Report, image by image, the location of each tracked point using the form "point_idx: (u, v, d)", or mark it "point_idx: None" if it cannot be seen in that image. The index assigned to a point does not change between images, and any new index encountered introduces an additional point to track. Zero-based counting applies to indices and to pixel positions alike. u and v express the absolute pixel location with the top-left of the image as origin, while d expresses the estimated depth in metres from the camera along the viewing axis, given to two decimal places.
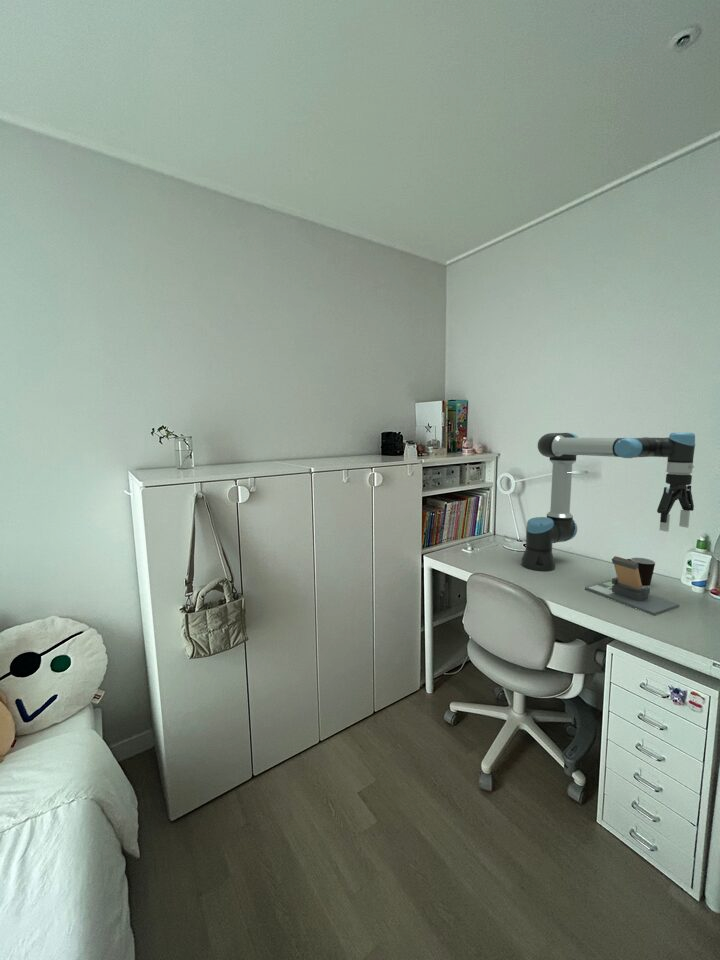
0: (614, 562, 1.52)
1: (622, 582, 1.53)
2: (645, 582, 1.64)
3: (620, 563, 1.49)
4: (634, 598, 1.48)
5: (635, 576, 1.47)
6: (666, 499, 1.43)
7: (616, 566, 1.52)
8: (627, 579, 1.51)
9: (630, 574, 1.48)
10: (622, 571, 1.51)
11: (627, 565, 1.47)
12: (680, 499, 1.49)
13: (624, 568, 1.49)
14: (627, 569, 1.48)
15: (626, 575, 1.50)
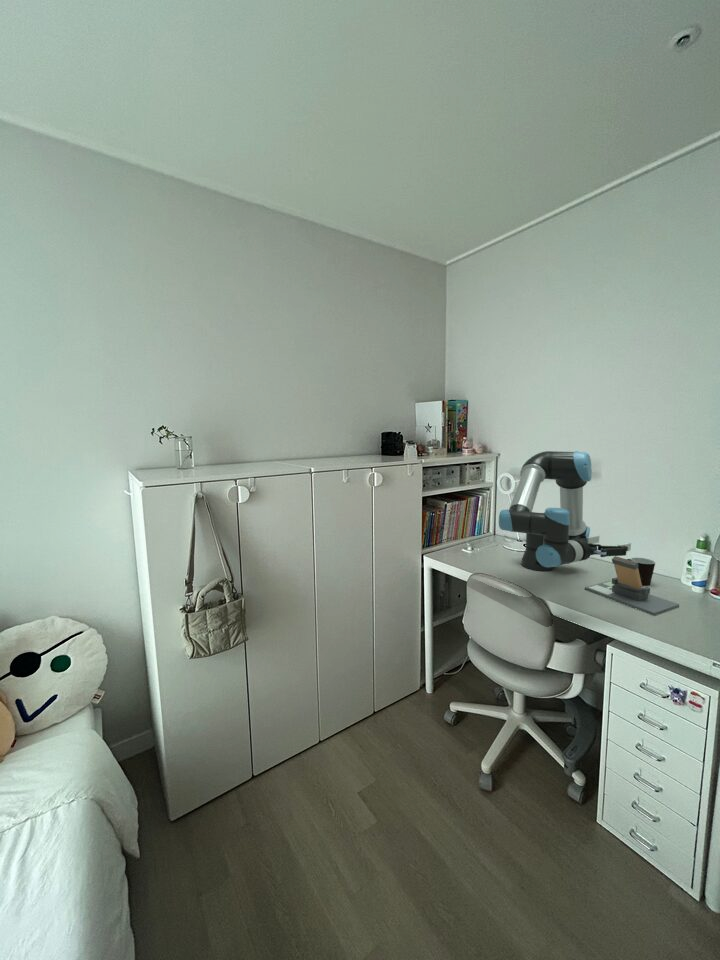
0: (614, 562, 1.52)
1: (622, 582, 1.53)
2: (645, 582, 1.64)
3: (620, 563, 1.49)
4: (634, 598, 1.48)
5: (635, 576, 1.47)
6: None
7: (616, 566, 1.52)
8: (627, 579, 1.51)
9: (630, 574, 1.48)
10: (622, 571, 1.51)
11: (627, 565, 1.47)
12: None
13: (624, 568, 1.49)
14: (627, 569, 1.48)
15: (626, 575, 1.50)
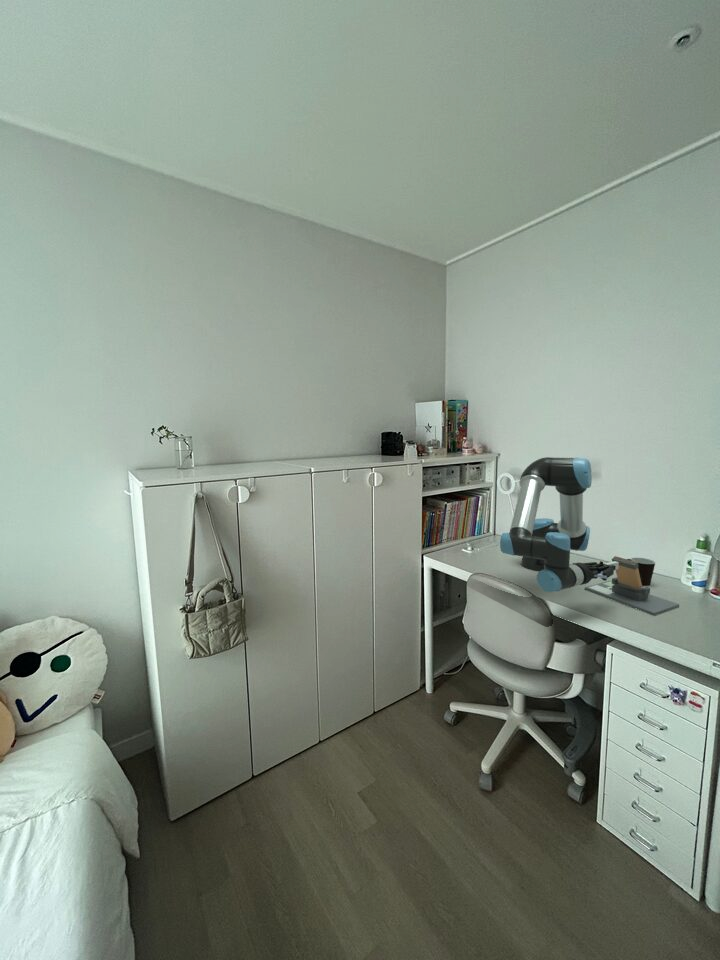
0: None
1: (622, 582, 1.53)
2: (645, 582, 1.64)
3: (620, 563, 1.49)
4: (634, 598, 1.48)
5: (635, 576, 1.47)
6: None
7: None
8: (627, 579, 1.51)
9: (630, 574, 1.48)
10: (622, 571, 1.51)
11: (627, 565, 1.47)
12: None
13: (624, 568, 1.49)
14: (627, 569, 1.48)
15: (626, 575, 1.50)
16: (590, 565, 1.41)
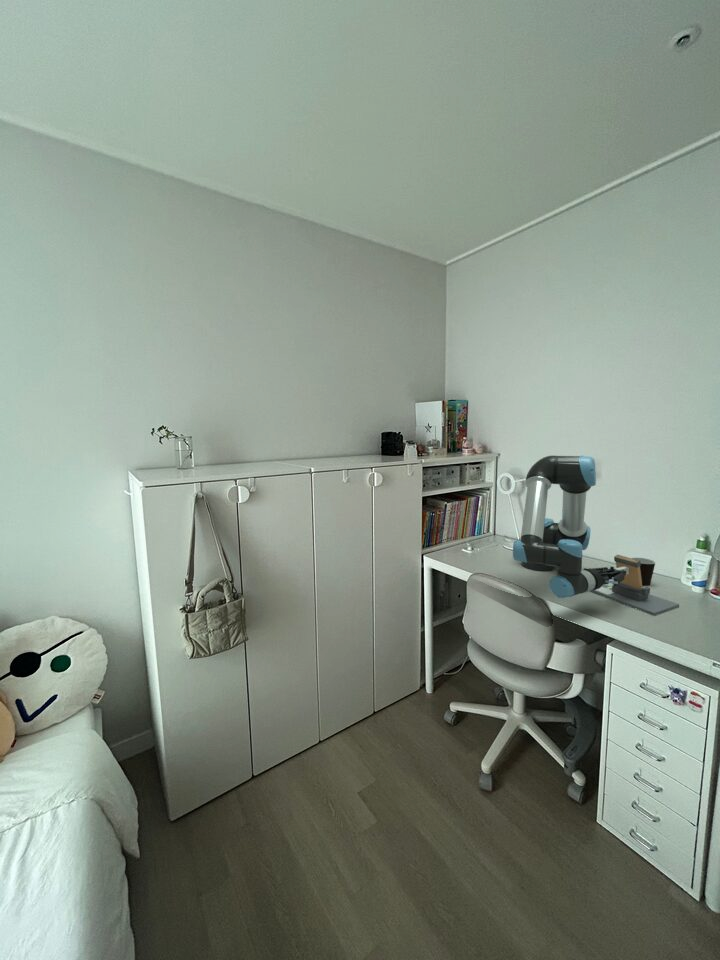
0: (616, 560, 1.52)
1: (622, 582, 1.53)
2: (645, 582, 1.64)
3: (622, 561, 1.50)
4: (634, 598, 1.48)
5: (636, 575, 1.47)
6: None
7: (618, 564, 1.52)
8: (628, 578, 1.51)
9: (631, 573, 1.49)
10: None
11: (629, 563, 1.47)
12: None
13: (626, 566, 1.50)
14: (629, 567, 1.49)
15: (627, 574, 1.50)
16: (601, 570, 1.44)
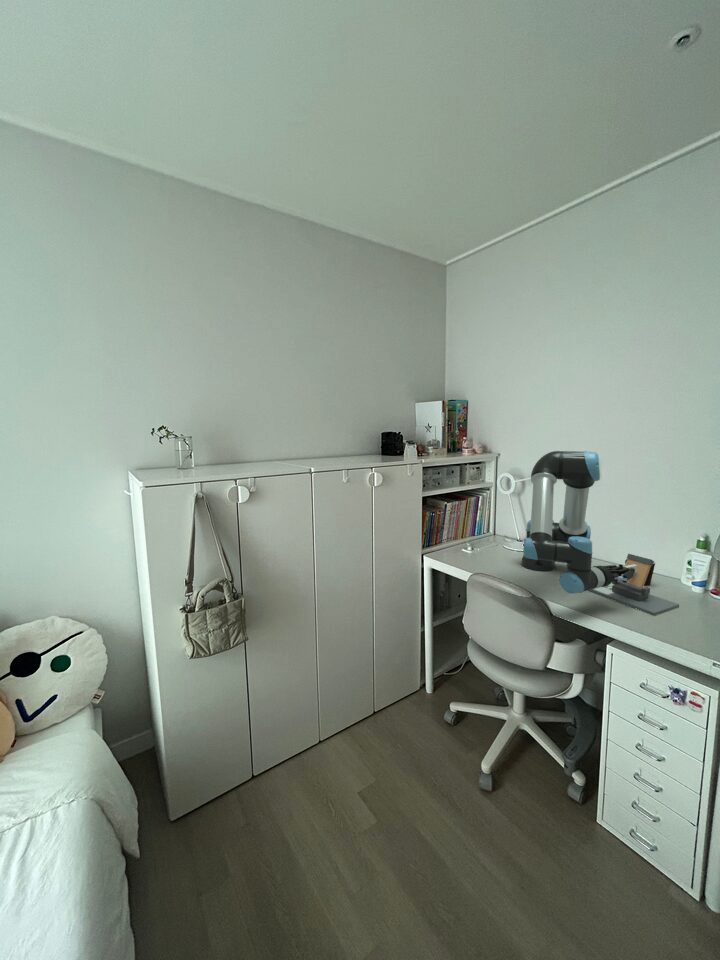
0: (629, 557, 1.56)
1: None
2: (645, 582, 1.64)
3: (635, 557, 1.53)
4: (634, 598, 1.48)
5: (644, 572, 1.49)
6: None
7: (628, 562, 1.55)
8: None
9: (639, 570, 1.51)
10: None
11: (642, 559, 1.51)
12: None
13: (636, 564, 1.53)
14: (640, 564, 1.52)
15: None
16: (610, 568, 1.46)
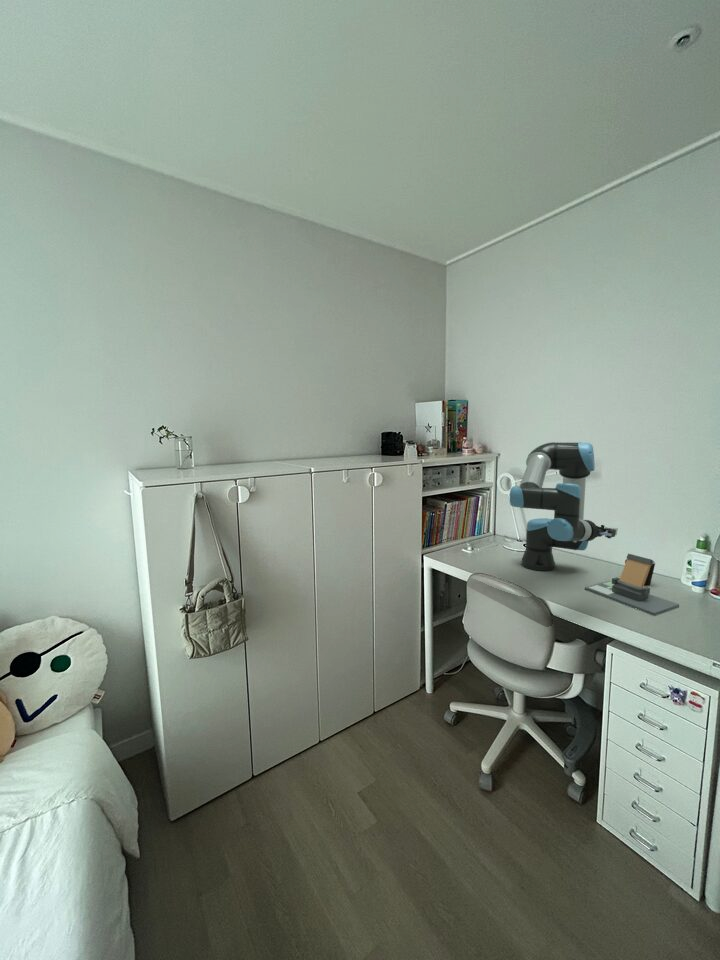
0: (629, 557, 1.55)
1: (624, 580, 1.54)
2: (645, 582, 1.64)
3: (635, 557, 1.53)
4: (634, 598, 1.48)
5: (644, 572, 1.49)
6: None
7: (628, 562, 1.55)
8: (632, 576, 1.52)
9: (639, 570, 1.51)
10: (632, 567, 1.53)
11: (642, 559, 1.51)
12: None
13: (636, 564, 1.52)
14: (639, 564, 1.51)
15: (634, 571, 1.52)
16: None
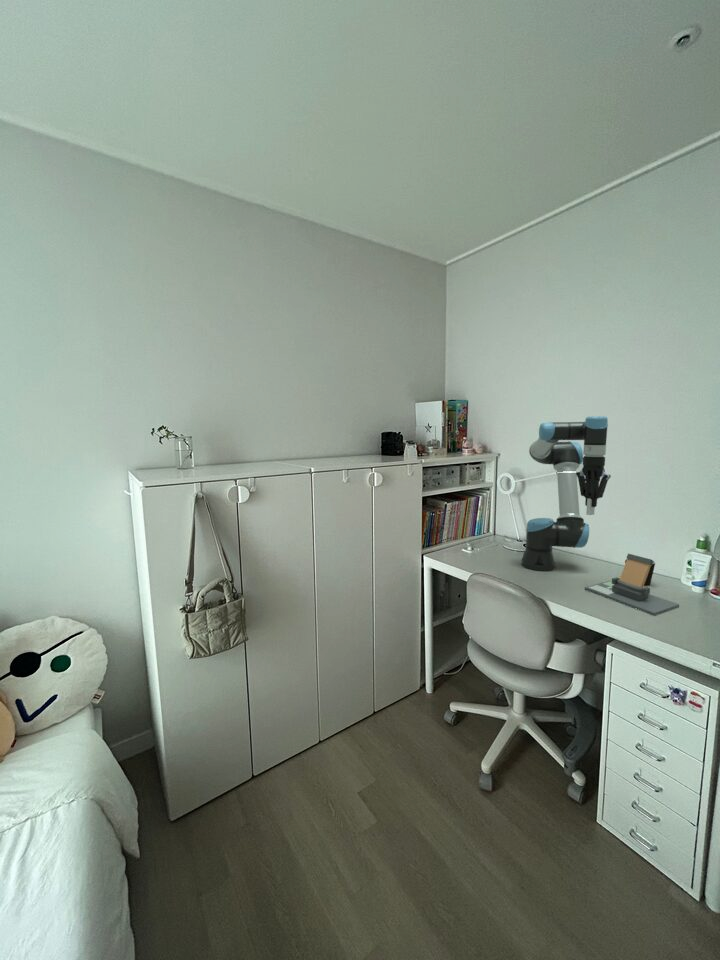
0: (629, 557, 1.55)
1: (624, 580, 1.54)
2: (645, 582, 1.64)
3: (635, 557, 1.53)
4: (634, 598, 1.48)
5: (644, 572, 1.49)
6: None
7: (628, 562, 1.55)
8: (632, 576, 1.52)
9: (639, 570, 1.51)
10: (632, 567, 1.53)
11: (642, 559, 1.51)
12: None
13: (636, 564, 1.52)
14: (639, 564, 1.51)
15: (634, 571, 1.52)
16: None
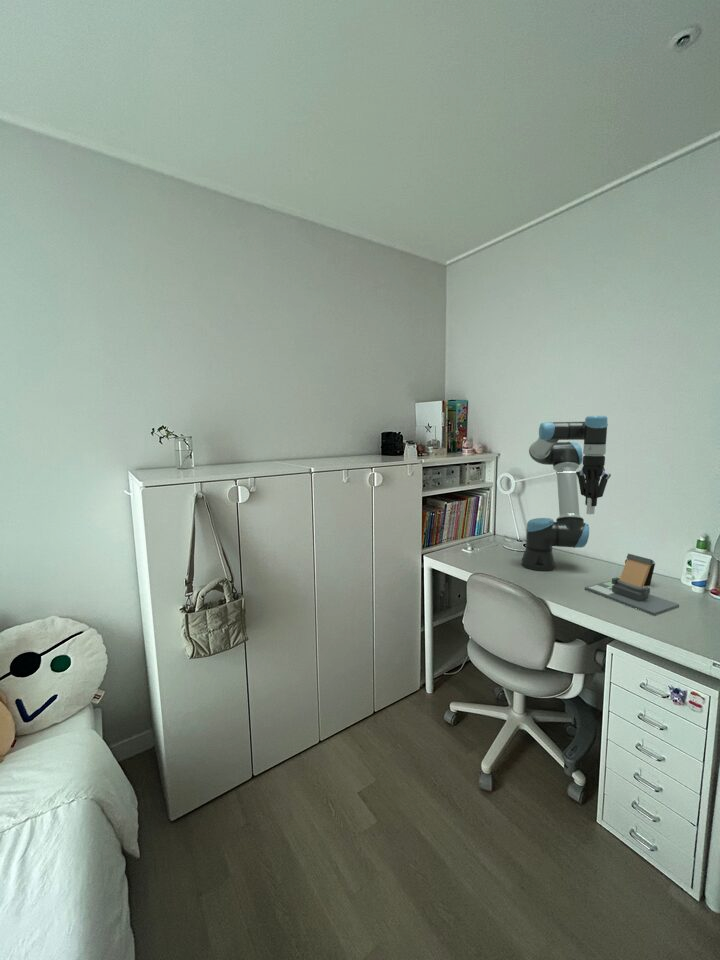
0: (629, 557, 1.55)
1: (624, 580, 1.54)
2: (645, 582, 1.64)
3: (635, 557, 1.53)
4: (634, 598, 1.48)
5: (644, 572, 1.49)
6: None
7: (628, 562, 1.55)
8: (632, 576, 1.52)
9: (639, 570, 1.51)
10: (632, 567, 1.53)
11: (642, 559, 1.51)
12: None
13: (636, 564, 1.52)
14: (639, 564, 1.51)
15: (634, 571, 1.52)
16: None
